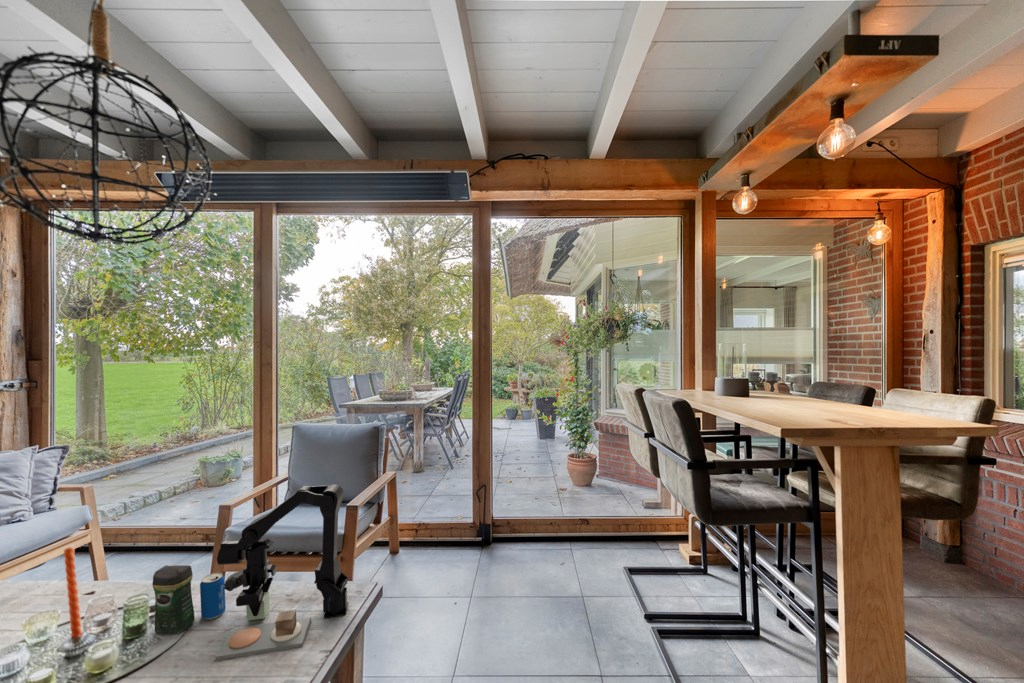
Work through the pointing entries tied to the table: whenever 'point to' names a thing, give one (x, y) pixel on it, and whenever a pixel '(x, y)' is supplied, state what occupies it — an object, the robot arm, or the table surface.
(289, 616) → the walnut block
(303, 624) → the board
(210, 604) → the beverage can
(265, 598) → the sage block
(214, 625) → the table surface
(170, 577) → the coffee jar
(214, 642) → the table surface
